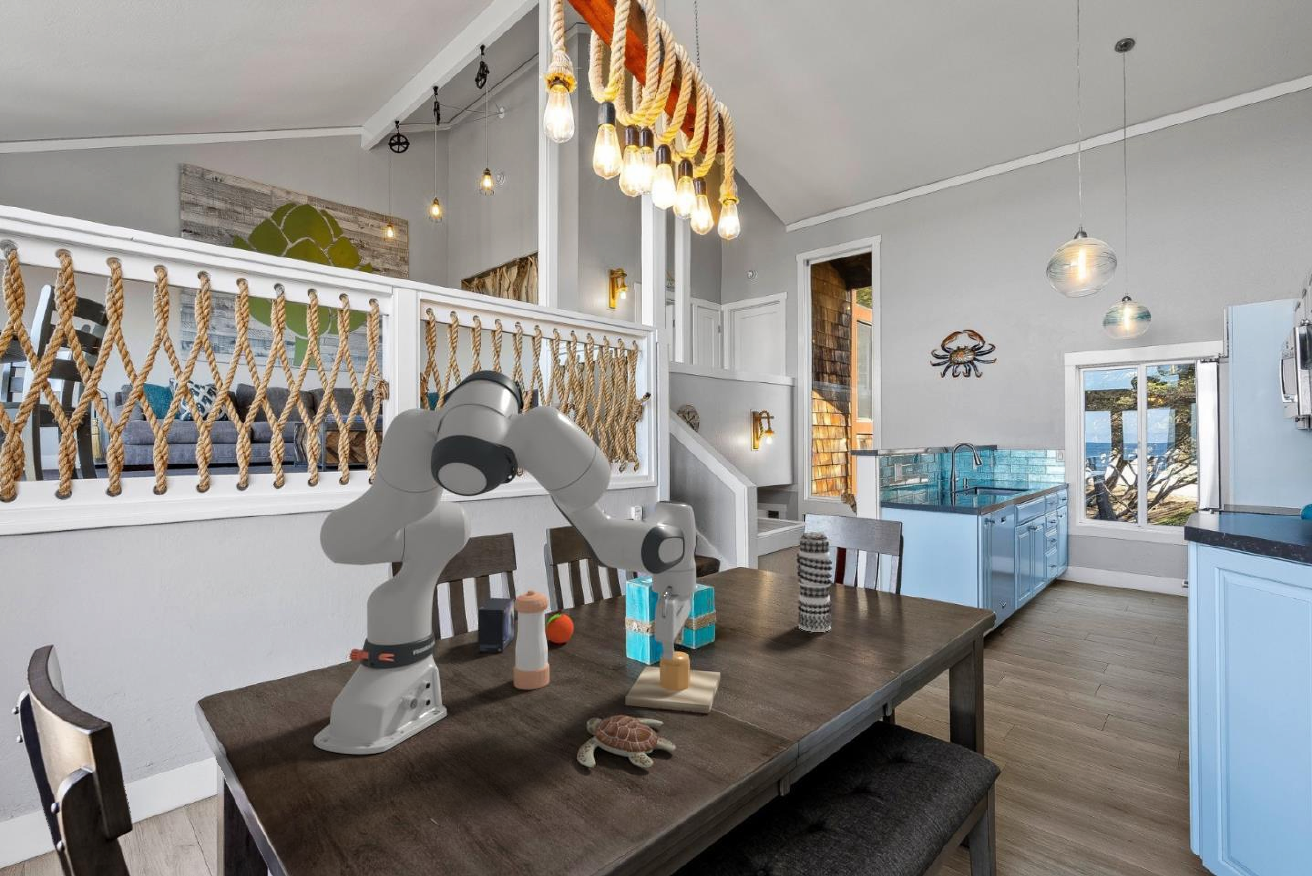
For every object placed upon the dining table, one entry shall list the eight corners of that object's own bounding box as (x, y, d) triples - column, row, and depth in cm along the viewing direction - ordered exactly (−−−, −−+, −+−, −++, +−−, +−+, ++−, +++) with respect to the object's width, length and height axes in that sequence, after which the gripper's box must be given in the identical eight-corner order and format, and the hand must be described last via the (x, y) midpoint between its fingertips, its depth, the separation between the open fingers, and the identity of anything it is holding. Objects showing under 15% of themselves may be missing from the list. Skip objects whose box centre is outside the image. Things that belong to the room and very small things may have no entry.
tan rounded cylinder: (686, 691, 118) (686, 662, 118) (658, 688, 120) (657, 660, 120) (691, 680, 124) (691, 652, 124) (664, 677, 125) (664, 650, 125)
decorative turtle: (622, 715, 112) (622, 688, 112) (696, 742, 102) (696, 713, 102) (547, 756, 98) (547, 725, 98) (625, 792, 88) (625, 758, 88)
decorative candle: (789, 625, 164) (789, 532, 164) (816, 620, 168) (816, 530, 168) (811, 635, 156) (811, 537, 156) (839, 630, 160) (839, 535, 160)
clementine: (556, 650, 146) (555, 620, 146) (536, 644, 150) (536, 615, 150) (579, 641, 152) (579, 613, 152) (560, 636, 156) (560, 608, 156)
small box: (504, 653, 144) (503, 609, 144) (476, 653, 144) (476, 609, 144) (515, 638, 154) (515, 597, 154) (489, 638, 155) (489, 597, 155)
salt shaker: (541, 691, 122) (540, 595, 122) (507, 688, 124) (507, 594, 124) (554, 677, 129) (554, 586, 129) (522, 674, 131) (522, 585, 131)
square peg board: (709, 713, 112) (709, 683, 112) (625, 705, 116) (625, 676, 116) (720, 679, 128) (720, 653, 128) (646, 673, 131) (646, 647, 131)
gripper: (680, 595, 111) (679, 671, 111) (697, 571, 131) (697, 635, 131) (646, 593, 113) (646, 668, 113) (668, 569, 133) (668, 633, 133)
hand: (673, 650), depth 122 cm, fingers open, 8 cm apart
